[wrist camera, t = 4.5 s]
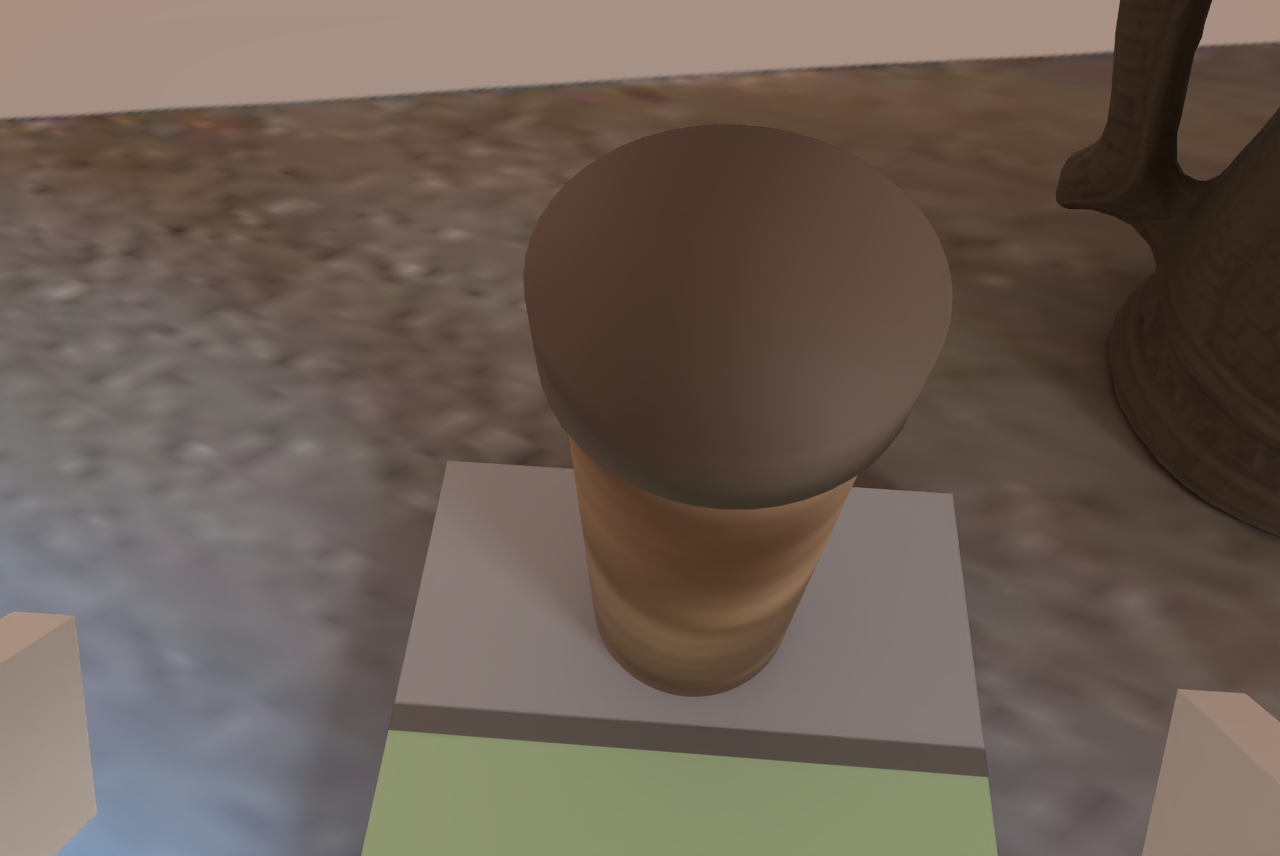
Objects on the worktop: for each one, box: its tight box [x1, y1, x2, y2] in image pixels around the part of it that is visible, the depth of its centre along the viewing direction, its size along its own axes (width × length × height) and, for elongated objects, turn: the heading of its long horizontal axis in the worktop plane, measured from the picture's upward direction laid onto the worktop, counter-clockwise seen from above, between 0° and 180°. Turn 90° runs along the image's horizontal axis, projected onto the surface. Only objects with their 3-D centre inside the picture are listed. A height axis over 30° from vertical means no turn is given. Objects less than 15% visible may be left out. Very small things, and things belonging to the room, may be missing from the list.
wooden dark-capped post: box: [523, 125, 953, 697], centre depth 17 cm, size 6×6×12 cm
